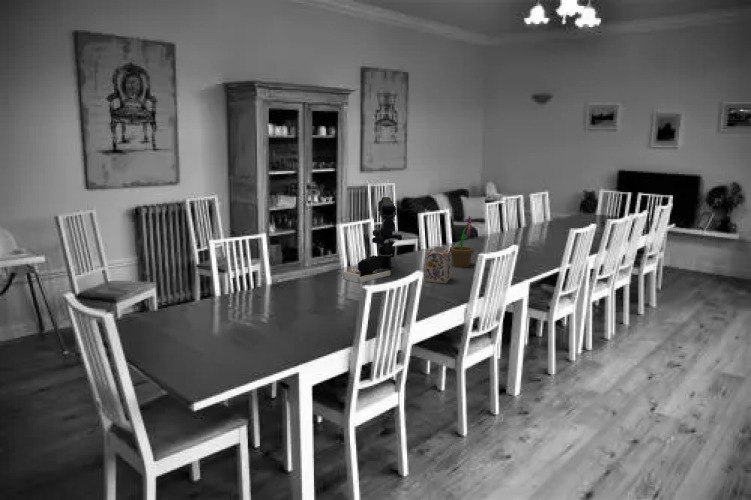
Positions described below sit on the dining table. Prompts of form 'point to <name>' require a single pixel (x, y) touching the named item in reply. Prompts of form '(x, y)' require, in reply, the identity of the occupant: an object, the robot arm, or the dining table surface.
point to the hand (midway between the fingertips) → (387, 254)
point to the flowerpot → (462, 250)
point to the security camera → (369, 265)
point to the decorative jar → (438, 265)
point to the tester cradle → (356, 277)
